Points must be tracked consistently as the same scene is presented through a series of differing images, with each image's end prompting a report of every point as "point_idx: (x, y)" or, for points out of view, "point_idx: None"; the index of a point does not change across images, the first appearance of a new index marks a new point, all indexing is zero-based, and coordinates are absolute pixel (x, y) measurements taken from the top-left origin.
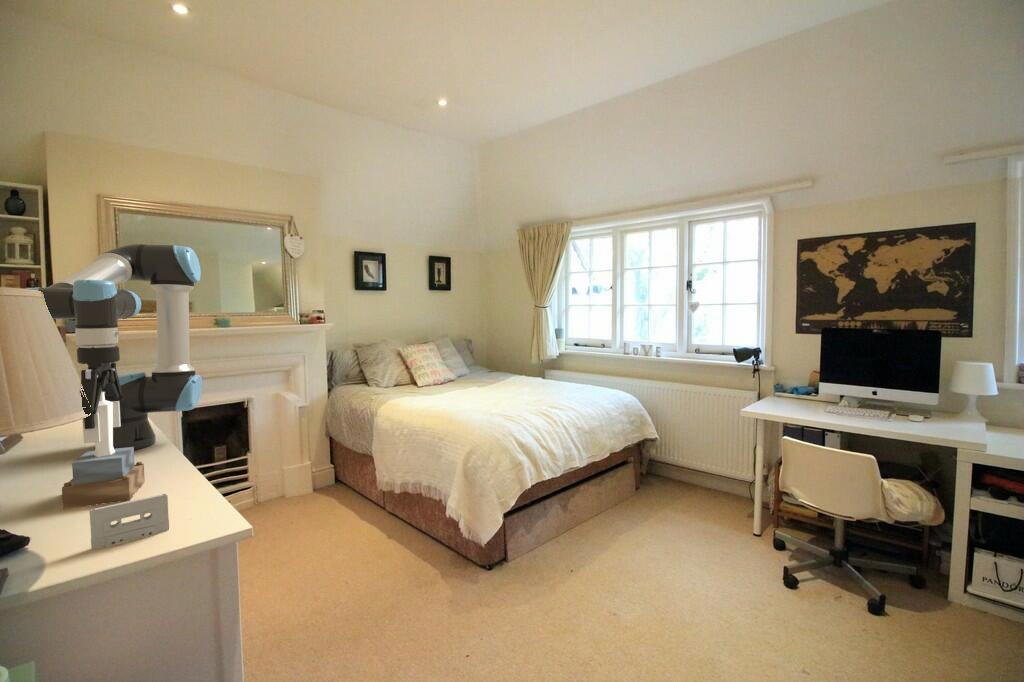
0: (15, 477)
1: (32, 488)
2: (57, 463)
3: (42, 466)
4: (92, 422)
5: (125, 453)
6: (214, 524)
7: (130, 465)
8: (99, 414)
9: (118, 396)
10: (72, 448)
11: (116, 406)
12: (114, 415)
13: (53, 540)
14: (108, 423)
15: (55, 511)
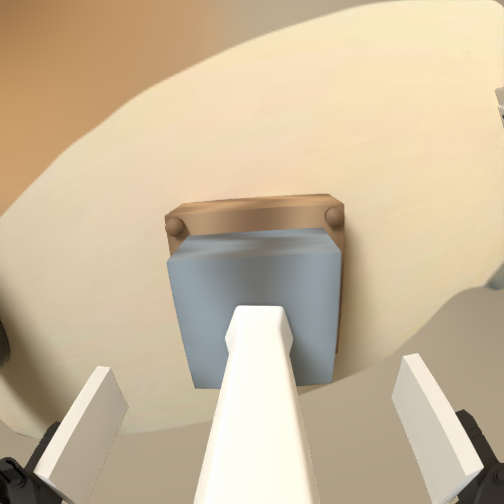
0: None
1: (173, 405)
2: (57, 397)
3: None
4: (480, 433)
5: (272, 259)
6: (488, 26)
7: (233, 237)
8: (317, 496)
9: (20, 493)
10: (6, 388)
11: (66, 460)
12: (92, 427)
13: (473, 265)
14: (296, 421)
15: None
